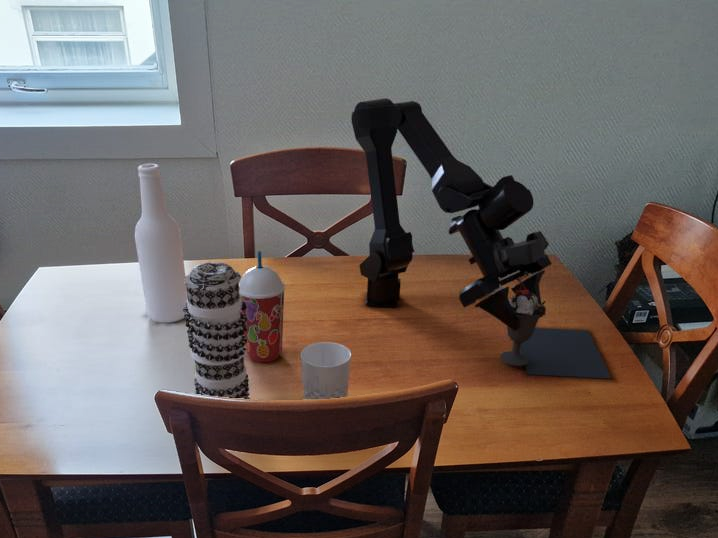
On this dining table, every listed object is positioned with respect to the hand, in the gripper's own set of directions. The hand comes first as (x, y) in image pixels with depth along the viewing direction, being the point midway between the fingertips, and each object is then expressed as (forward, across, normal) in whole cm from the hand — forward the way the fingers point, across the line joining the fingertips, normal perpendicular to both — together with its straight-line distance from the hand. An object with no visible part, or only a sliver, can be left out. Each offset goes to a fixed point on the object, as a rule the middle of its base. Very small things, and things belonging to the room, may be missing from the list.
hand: (529, 323), depth 111 cm
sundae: (+4, 0, +6) cm, 8 cm away
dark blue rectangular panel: (+7, +10, +5) cm, 13 cm away
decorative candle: (-9, -48, +22) cm, 54 cm away
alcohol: (-36, -36, +50) cm, 71 cm away
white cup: (-3, -34, +16) cm, 38 cm away
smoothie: (-17, -31, +30) cm, 47 cm away
